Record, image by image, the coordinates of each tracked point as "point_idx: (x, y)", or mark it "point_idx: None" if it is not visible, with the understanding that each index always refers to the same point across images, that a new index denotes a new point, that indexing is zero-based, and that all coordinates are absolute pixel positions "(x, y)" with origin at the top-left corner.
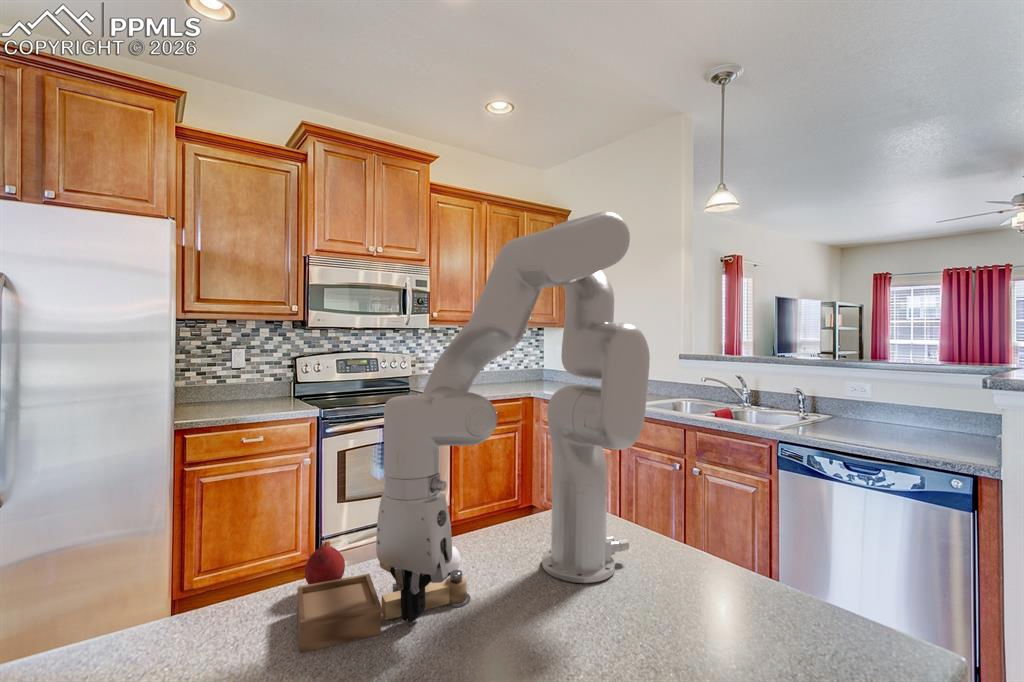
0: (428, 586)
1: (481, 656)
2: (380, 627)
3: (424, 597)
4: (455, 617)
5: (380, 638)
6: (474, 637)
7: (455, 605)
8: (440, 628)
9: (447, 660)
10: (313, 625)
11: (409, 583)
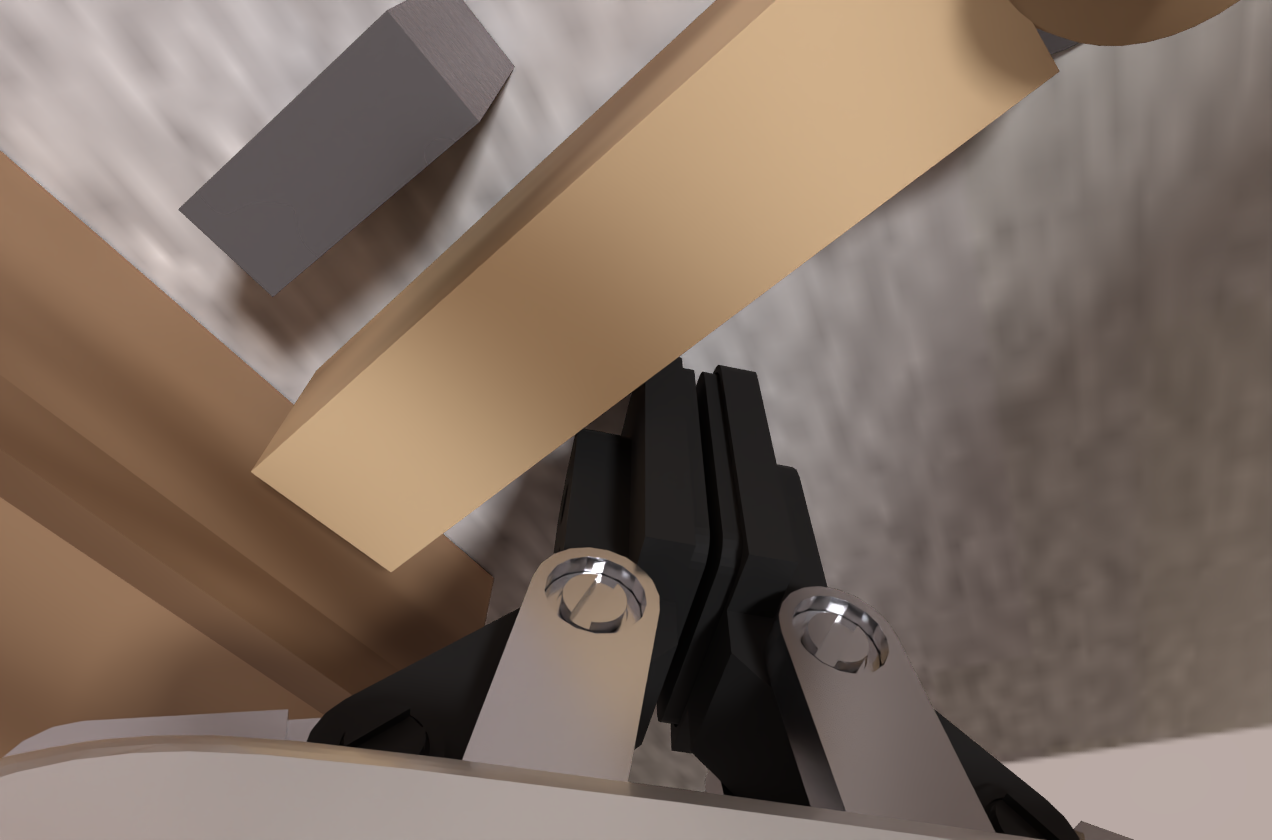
0: (726, 152)
1: (1261, 626)
2: (485, 619)
3: (810, 549)
4: (1053, 244)
5: (518, 608)
6: (1230, 472)
7: (1046, 43)
8: (931, 427)
9: (1034, 687)
10: None
11: (641, 720)
